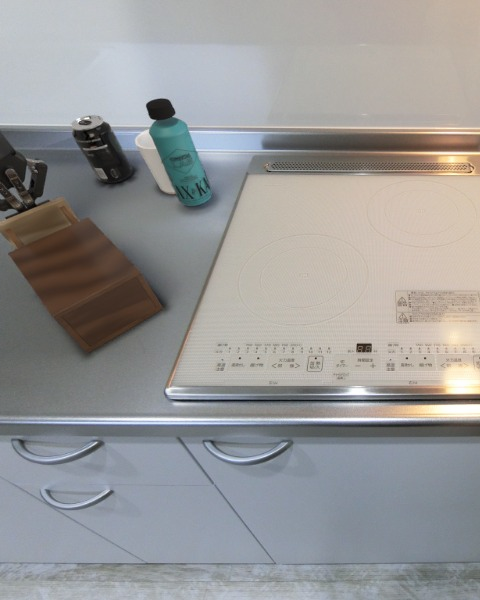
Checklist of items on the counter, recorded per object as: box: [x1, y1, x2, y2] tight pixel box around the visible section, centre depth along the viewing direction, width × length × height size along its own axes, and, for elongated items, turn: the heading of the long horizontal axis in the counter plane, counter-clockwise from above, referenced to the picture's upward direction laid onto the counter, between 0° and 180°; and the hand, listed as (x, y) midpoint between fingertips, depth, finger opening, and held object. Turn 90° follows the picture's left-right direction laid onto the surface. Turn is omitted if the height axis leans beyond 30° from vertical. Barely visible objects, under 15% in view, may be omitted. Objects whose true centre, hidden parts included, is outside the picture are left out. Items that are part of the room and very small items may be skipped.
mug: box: [134, 128, 177, 195], centre depth 87 cm, size 11×9×10 cm
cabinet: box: [7, 217, 164, 354], centre depth 66 cm, size 18×12×9 cm, turn 47°
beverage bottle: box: [145, 97, 212, 207], centre depth 79 cm, size 6×7×20 cm
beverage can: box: [70, 114, 133, 184], centre depth 88 cm, size 7×7×12 cm
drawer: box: [0, 196, 80, 250], centre depth 72 cm, size 21×10×7 cm, turn 47°
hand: (37, 221), depth 76 cm, fingers closed
